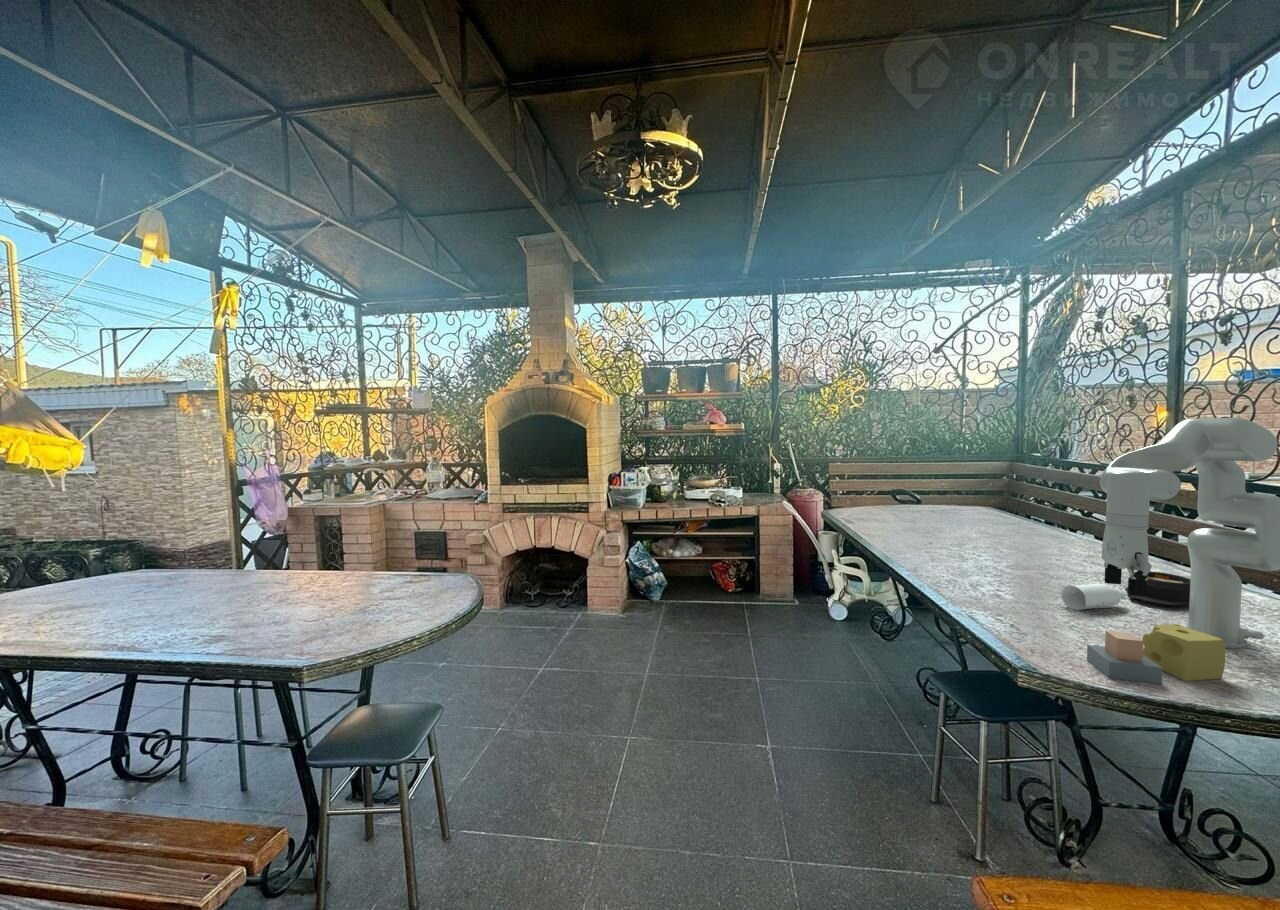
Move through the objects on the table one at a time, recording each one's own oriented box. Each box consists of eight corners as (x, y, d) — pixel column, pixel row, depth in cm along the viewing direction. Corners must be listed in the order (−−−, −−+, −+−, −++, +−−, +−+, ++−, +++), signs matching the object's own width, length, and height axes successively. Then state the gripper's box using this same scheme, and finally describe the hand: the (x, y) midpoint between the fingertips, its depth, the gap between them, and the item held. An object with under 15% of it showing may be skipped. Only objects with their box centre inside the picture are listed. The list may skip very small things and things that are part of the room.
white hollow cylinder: (1132, 610, 165) (1134, 586, 164) (1084, 613, 162) (1085, 589, 161) (1106, 602, 172) (1108, 579, 172) (1060, 605, 170) (1061, 582, 169)
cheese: (1138, 662, 128) (1140, 624, 128) (1176, 660, 129) (1178, 622, 129) (1186, 682, 118) (1188, 641, 117) (1227, 680, 119) (1229, 639, 118)
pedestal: (1135, 665, 126) (1136, 649, 126) (1161, 684, 117) (1162, 667, 117) (1086, 659, 130) (1087, 644, 129) (1108, 677, 120) (1109, 661, 120)
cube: (1104, 649, 126) (1105, 630, 126) (1129, 652, 125) (1130, 633, 124) (1116, 658, 122) (1117, 638, 121) (1142, 661, 120) (1143, 641, 120)
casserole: (1140, 587, 188) (1141, 565, 187) (1213, 602, 171) (1214, 578, 171) (1111, 598, 176) (1112, 575, 176) (1186, 615, 160) (1187, 589, 159)
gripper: (1089, 514, 132) (1086, 578, 132) (1129, 526, 115) (1126, 599, 116) (1124, 515, 129) (1122, 580, 130) (1170, 528, 113) (1167, 602, 114)
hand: (1124, 589), depth 123 cm, fingers open, 9 cm apart
